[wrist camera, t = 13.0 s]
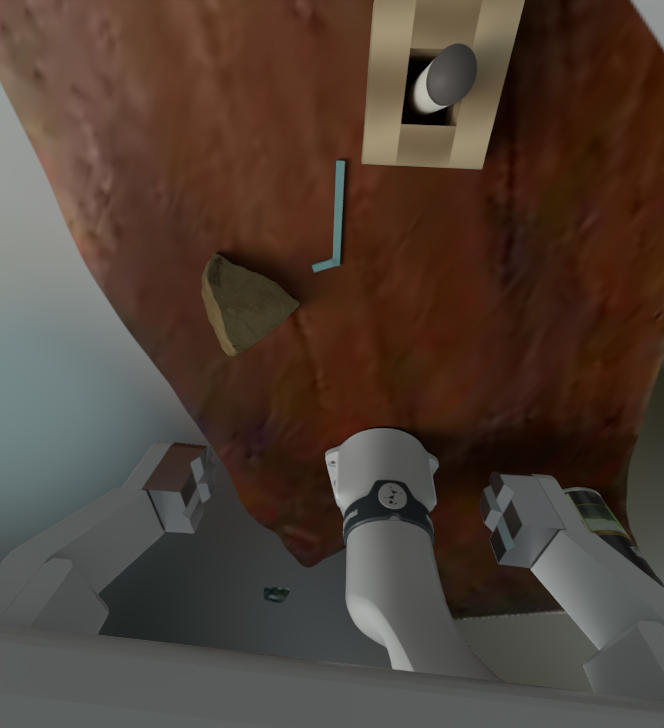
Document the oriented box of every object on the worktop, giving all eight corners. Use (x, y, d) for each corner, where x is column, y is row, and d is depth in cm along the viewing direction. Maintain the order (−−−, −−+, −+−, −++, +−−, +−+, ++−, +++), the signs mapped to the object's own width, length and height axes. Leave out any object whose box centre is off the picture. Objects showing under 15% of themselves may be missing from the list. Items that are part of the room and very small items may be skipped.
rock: (171, 272, 36) (218, 349, 40) (174, 265, 29) (231, 361, 32) (256, 235, 40) (291, 309, 43) (278, 220, 32) (319, 311, 36)
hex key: (339, 272, 37) (339, 273, 37) (312, 270, 37) (311, 272, 37) (344, 160, 31) (344, 161, 31) (312, 159, 31) (311, 159, 31)
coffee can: (598, 480, 54) (664, 571, 43) (603, 512, 59) (664, 602, 48) (533, 494, 58) (578, 583, 46) (543, 524, 63) (586, 611, 51)
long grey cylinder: (436, 116, 29) (469, 105, 21) (405, 115, 29) (425, 103, 21) (444, 75, 27) (483, 44, 19) (410, 74, 27) (435, 42, 19)
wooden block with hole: (466, 166, 31) (481, 169, 27) (361, 161, 31) (362, 163, 27) (501, 16, 25) (526, -7, 21) (372, 12, 25) (375, -11, 22)
